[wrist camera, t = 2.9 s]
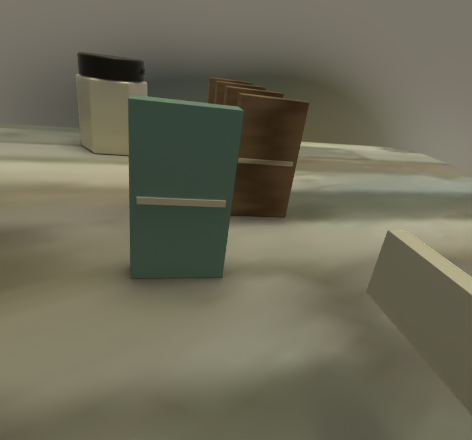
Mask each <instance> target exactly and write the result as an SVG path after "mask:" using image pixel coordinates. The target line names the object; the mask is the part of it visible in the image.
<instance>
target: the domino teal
mask: <svg viewBox="0 0 472 440" xmlns="http://www.w3.org/2000/svg"><path fill="white" fill-rule="evenodd" d="M243 114H244V110H242V109H241V108H239V107H237V106H228V105H219V104H210V103H200V102H191V101H182V100H173V99H163V98H154V97H146V96H137V95H130V97H129V98H128V131H129V202H130V273H131V278H215V277H222V275H223V268H224V260H225V252H226V245H227V237H228V229H229V222H230V214H231V206H232V199H233V191H234V183H235V176H236V168H237V160H238V153H239V145H240V137H241V130H242V122H243Z"/></svg>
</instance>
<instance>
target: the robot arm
mask: <svg viewBox="0 0 472 440" xmlns="http://www.w3.org/2000/svg"><path fill="white" fill-rule="evenodd" d="M366 292H367V293H368V295H369V296H370V297H371V298H372V299H373V300H374V302H375V303H376V304H377V305H378V306H379V307H380V309H381V310H382V311H383V312H384V313H385V314H386V316H387V317H388V318H389V319H390V320H391V321H392V323H393V324H394V325H395V326H396V327H397V328H398V330H399V331H400V332H401V333H402V334H403V335H404V337H405V338H406V339H407V340H408V341H409V342H410V344H411V345H412V346H413V347H414V348H415V349H416V351H417V352H418V353H419V354H420V355H421V356H422V358H423V359H424V360H425V361H426V362H427V363H428V365H429V366H430V367H431V368H432V369H433V370H434V372H435V373H436V374H437V375H438V376H439V377H440V379H441V380H442V381H443V382H444V383H445V384H446V386H447V387H448V388H449V389H450V390H451V391H452V393H453V394H454V395H455V396H456V397H457V399H458V400H459V401H460V402H461V403H462V404H463V406H464V407H465V408H466V409H467V410H468V411H469V413H470V414H471V415H472V277H471V276H469V275H468V274H466V273H465V272H464V271H462V270H461V269H460V268H458V267H457V266H455V265H454V264H453V263H451V262H450V261H448V260H447V259H446V258H444V257H443V256H441V255H440V254H439V253H437V252H436V251H434V250H433V249H432V248H430V247H429V246H427V245H426V244H425V243H423V242H422V241H421V240H419V239H418V238H416V237H415V236H414V235H412V234H411V233H409V232H408V231H407V230H388V231H387V234H386V237H385V240H384V243H383V245H382V248H381V251H380V254H379V257H378V260H377V262H376V265H375V268H374V271H373V274H372V276H371V279H370V282H369V285H368V288H367V291H366Z"/></svg>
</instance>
